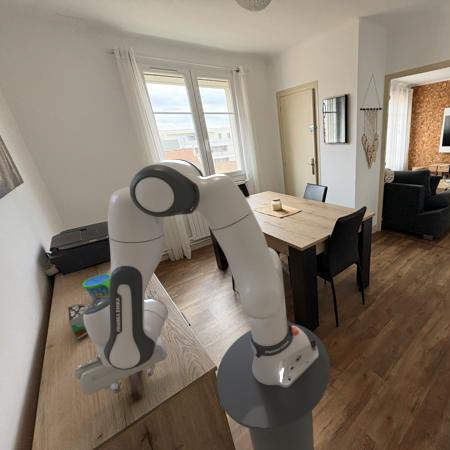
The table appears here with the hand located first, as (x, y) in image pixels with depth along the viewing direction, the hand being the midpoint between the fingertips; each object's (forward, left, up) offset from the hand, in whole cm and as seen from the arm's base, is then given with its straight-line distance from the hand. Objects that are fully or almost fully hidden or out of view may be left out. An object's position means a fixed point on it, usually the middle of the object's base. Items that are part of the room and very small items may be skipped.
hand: (134, 382), depth 72 cm
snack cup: (+12, -62, -2) cm, 64 cm away
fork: (0, -2, -2) cm, 3 cm away
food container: (+16, -40, -2) cm, 44 cm away
